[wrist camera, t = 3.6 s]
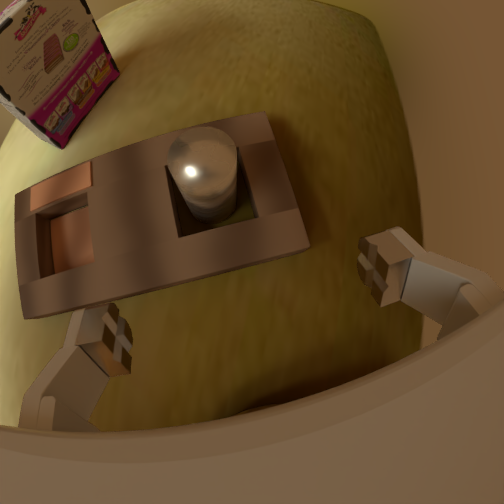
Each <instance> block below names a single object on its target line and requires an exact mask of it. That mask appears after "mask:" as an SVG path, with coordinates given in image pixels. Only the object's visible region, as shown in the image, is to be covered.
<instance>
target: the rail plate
mask: <svg viewBox="0 0 504 504" xmlns="http://www.w3.org/2000/svg"><path fill="white" fill-rule="evenodd" d="M197 127H213V128H217V129H219V130H222V131H223V132H225V133H226V134H228V135H229V136H230V137H231V139H232V140H233V142H234V144H235V146H236V150H237V161H239V163H240V167H241V170H242V174H243V177H244V181H245V184H246V188H247V191H248V195H249V198H250V202H251V205H252V209H253V212H254V216H255V218H254V219H250V220H246V221H242V222H238V223H234V224H230V225H226V226H223V227H219V228H215V229H211V230H207V231H203V232H200V233H196V234H192V235H188V236H185V237H183V234H182V230H181V225H180V220H179V216H178V211H177V206H176V201H175V196H174V190H173V185H172V180H171V178H173V176H172V174H171V173H170V170H169V168H168V164H167V156H168V152H169V149H170V147H171V145H172V143H173V142H174V141H175V139H176V138H177V137H179V136H180V135H181V134H182V133H184V132H186V131H188V130H190V129H193V128H197ZM87 205H88V206H87ZM84 206H87V207H84ZM82 207H84V208H82ZM79 208H82V209H79ZM76 209H79V210H76ZM74 210H76V211H74ZM71 211H74V212H71ZM68 212H71V213H69V214H66V213H68ZM63 214H66V215H63ZM61 215H63V216H61ZM58 216H61V217H58ZM56 217H58V218H56ZM54 218H56V219H54ZM51 219H54V220H51ZM50 220H51V221H50ZM50 225H51V232H50ZM51 240H52V245H51ZM309 247H310V243H309V240H308V237H307V233H306V230H305V227H304V224H303V220H302V217H301V214H300V211H299V208H298V205H297V201H296V198H295V195H294V192H293V189H292V186H291V183H290V180H289V177H288V174H287V171H286V168H285V166H284V163H283V160H282V157H281V154H280V151H279V148H278V146H277V143H276V140H275V137H274V134H273V132H272V129H271V126H270V124H269V121H268V118H267V116H266V113H265V111H264V112H258V113H252V114H247V115H241V116H236V117H231V118H227V119H222V120H217V121H213V122H209V123H204V124H200V125H196V126H192V127H188V128H185V129H181V130H177V131H173V132H170V133H166V134H163V135H160V136H156V137H153V138H150V139H147V140H143V141H140V142H137V143H134V144H131V145H128V146H125V147H122V148H120V149H117V150H114V151H111V152H109V153H106V154H103V155H101V156H98V157H95V158H93V159H90V160H88V161H85V162H83V163H81V164H78V165H76V166H73V167H71V168H69V169H66V170H64V171H62V172H60V173H58V174H55V175H53V176H51V177H49V178H47V179H45V180H43V181H41V182H39V183H36V184H34V185H32V186H31V187H29V188H27V189H25V190H23V191H21V192H19V193H17V194H15V251H16V265H17V275H18V284H19V292H20V299H21V305H22V311H23V317H24V319H40V318H44V317H48V316H53V315H57V314H61V313H65V312H70V311H74V310H78V309H82V308H86V307H91V306H95V305H99V304H103V303H107V302H111V301H115V300H119V299H123V298H128V297H132V296H136V295H140V294H144V293H148V292H152V291H156V290H160V289H164V288H168V287H172V286H176V285H179V284H183V283H187V282H191V281H195V280H199V279H203V278H207V277H211V276H215V275H219V274H222V273H226V272H230V271H234V270H238V269H242V268H245V267H249V266H253V265H257V264H261V263H264V262H268V261H272V260H276V259H279V258H283V257H287V256H291V255H294V254H298V253H302V252H304V251H305V250H307V249H308V248H309ZM52 251H53V255H52ZM53 260H54V264H53ZM54 269H55V272H54Z"/></svg>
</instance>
